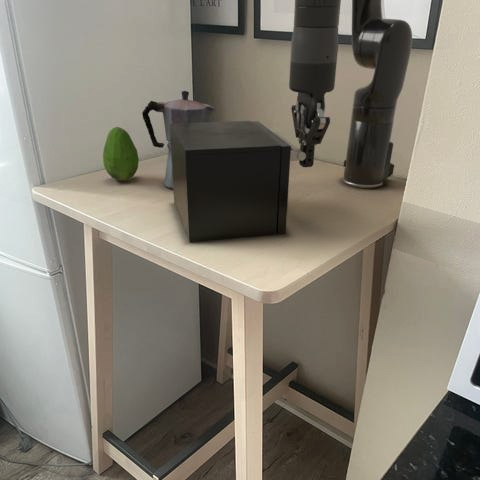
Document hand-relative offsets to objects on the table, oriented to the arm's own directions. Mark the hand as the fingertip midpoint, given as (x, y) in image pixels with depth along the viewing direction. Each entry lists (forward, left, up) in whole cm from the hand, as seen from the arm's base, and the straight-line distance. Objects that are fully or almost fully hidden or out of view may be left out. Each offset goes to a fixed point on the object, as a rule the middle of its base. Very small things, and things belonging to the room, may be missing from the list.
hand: (306, 165), depth 90 cm
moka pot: (+19, -27, -11) cm, 35 cm away
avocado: (+32, -34, -11) cm, 48 cm away
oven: (+15, -5, -11) cm, 19 cm away
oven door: (+4, -5, -11) cm, 12 cm away
